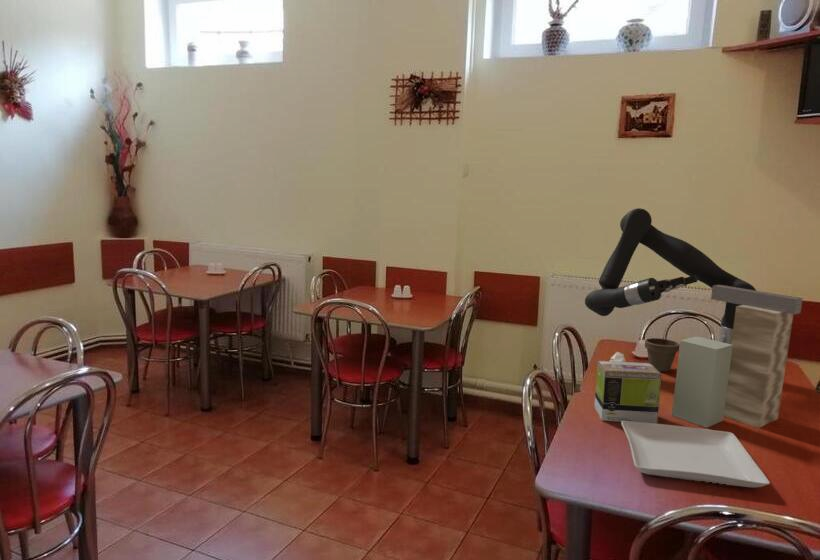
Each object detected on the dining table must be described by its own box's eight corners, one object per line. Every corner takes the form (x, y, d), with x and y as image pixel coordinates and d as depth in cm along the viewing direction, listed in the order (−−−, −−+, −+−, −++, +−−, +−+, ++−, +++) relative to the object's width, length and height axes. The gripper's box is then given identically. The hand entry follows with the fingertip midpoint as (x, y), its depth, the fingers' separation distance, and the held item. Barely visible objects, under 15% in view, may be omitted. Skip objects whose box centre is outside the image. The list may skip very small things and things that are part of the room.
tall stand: (741, 407, 175) (755, 302, 170) (777, 418, 167) (794, 309, 162) (721, 415, 168) (736, 306, 163) (758, 428, 160) (775, 313, 155)
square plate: (730, 444, 150) (732, 430, 149) (769, 500, 124) (772, 482, 123) (619, 431, 156) (620, 417, 155) (633, 481, 130) (635, 464, 129)
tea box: (646, 411, 169) (651, 362, 167) (657, 425, 160) (663, 373, 157) (593, 407, 171) (597, 358, 168) (600, 421, 161) (605, 369, 158)
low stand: (688, 408, 172) (697, 336, 169) (722, 420, 165) (732, 344, 161) (671, 415, 167) (680, 340, 163) (706, 427, 159) (716, 349, 155)
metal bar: (717, 297, 175) (719, 284, 174) (800, 312, 157) (802, 298, 157) (710, 299, 172) (712, 285, 172) (794, 314, 155) (796, 299, 154)
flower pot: (639, 362, 216) (642, 336, 215) (672, 365, 214) (675, 338, 213) (645, 372, 205) (648, 344, 204) (680, 375, 203) (683, 347, 201)
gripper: (628, 282, 190) (676, 268, 178) (649, 279, 199) (696, 266, 187) (634, 304, 189) (683, 292, 177) (655, 301, 198) (703, 289, 186)
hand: (690, 279), depth 182 cm, fingers open, 8 cm apart
